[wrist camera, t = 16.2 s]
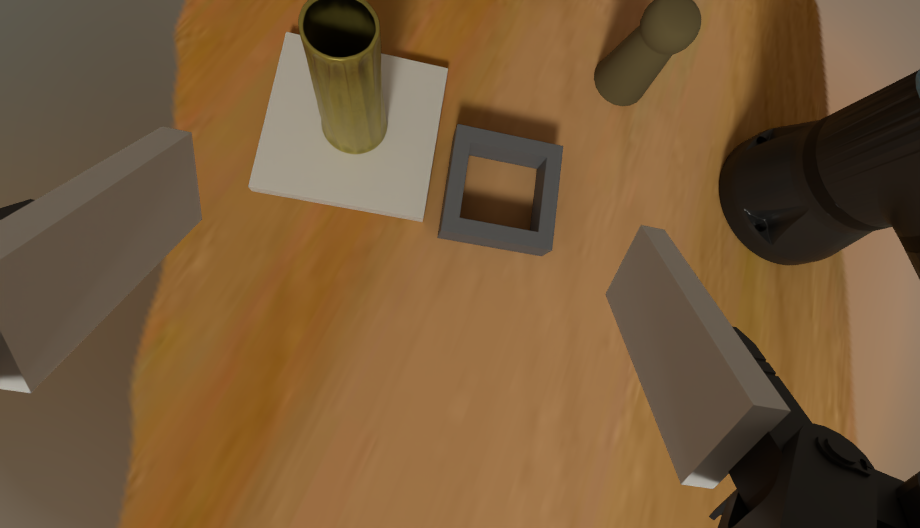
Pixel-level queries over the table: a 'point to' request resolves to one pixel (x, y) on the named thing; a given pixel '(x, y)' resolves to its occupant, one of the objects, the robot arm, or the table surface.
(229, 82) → the table surface
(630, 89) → the olive brown pawn
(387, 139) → the board
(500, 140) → the collar
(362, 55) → the vase
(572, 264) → the table surface
